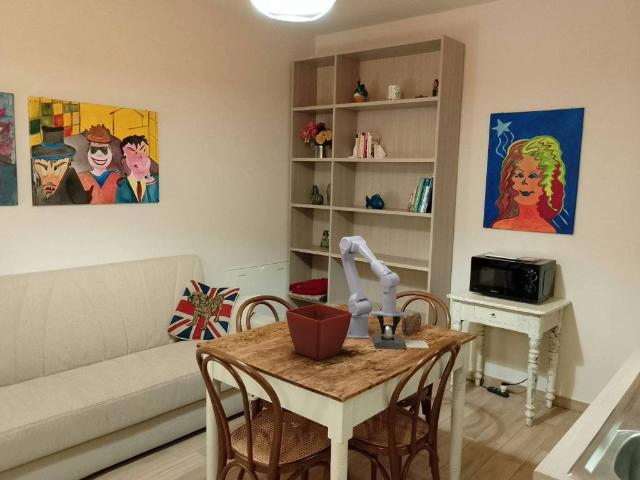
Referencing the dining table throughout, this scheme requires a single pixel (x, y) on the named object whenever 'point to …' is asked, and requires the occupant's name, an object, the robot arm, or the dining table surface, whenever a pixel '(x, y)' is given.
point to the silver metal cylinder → (388, 332)
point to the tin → (411, 323)
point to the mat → (415, 344)
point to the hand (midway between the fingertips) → (387, 333)
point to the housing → (387, 342)
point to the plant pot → (318, 330)
